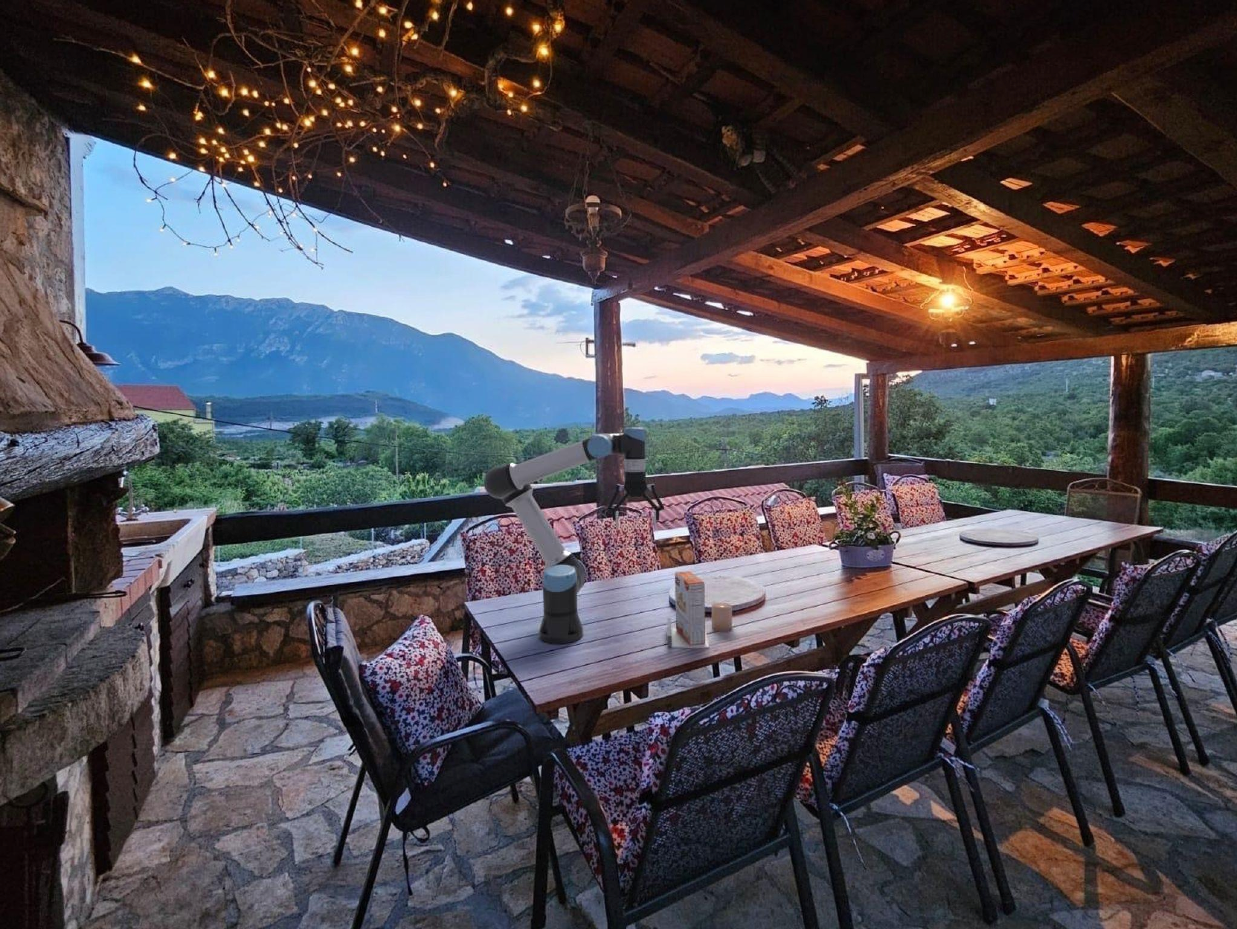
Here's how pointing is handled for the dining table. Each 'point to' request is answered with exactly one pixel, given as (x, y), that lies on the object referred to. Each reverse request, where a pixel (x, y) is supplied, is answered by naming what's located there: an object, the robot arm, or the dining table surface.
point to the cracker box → (690, 607)
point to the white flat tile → (680, 639)
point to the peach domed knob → (721, 617)
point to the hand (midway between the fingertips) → (636, 529)
